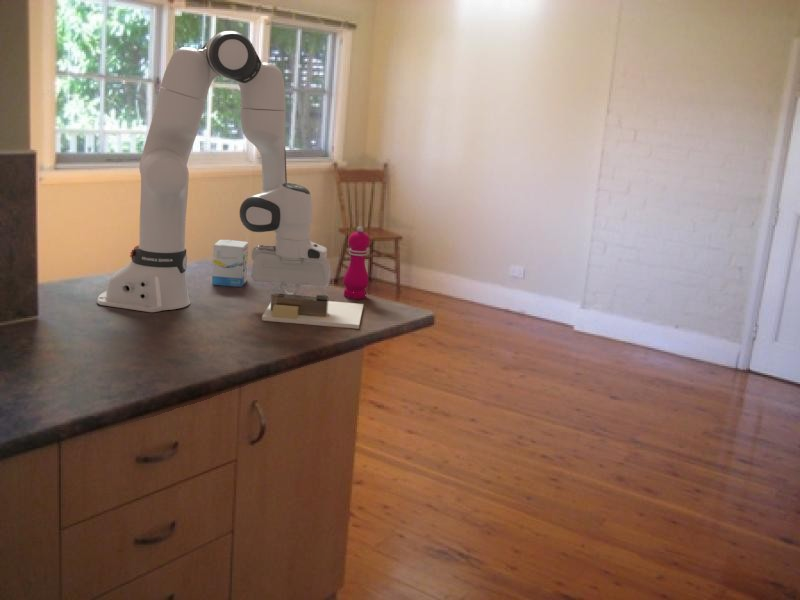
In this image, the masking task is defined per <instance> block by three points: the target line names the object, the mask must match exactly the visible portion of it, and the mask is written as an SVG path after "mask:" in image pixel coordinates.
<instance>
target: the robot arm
mask: <svg viewBox="0 0 800 600" xmlns="http://www.w3.org/2000/svg"><path fill="white" fill-rule="evenodd" d="M218 77H223V78H225V79H231V80H234V81H235V82H236V83H237V84H238V86H239V90H240V125H241V129H242V134H243V135H244V138H246V139H247V141H249V142H250V143H251V144H252V145H253V146H255V148H256V149H257V150H258V153H259V154H260V159H261V173H262V175H261V177H262V179H261V180H262V188H261V191H260V193H257V194H254V195H251V196H249V197H247V198H246V199H244V200H243V201H242V203H241V205H240V207H239V219H240V222H241V223H242V225H243V227H245V228H246V229H247V230H248V231H250V232H252V233H265V232H266V233H267V232H275V243H274V245H273V246H272V245H263V244H259V245H257V246H254V247H253V248H252V249H251V260H252V261H253V262H252V267H251V275H250V277H251V279H252V280H253V281H255V282H263V283H274V284H279V287H280V290H281V292H282V294H289V295H297V293H298V292H299V291H300V289H301V288H302V286H308V287H318V288H319V287H320V288H327V287H328V286H329V285H330V284H331V263H330V260H329V259H328V257H327V253H328V249H327V247H326V246H324V245H321V244H318V243H316V242H313V241H311V231H310V228H311V225H312V218H313V216H312V215H313V201H312V195H311V192H310V190H309V189H308V188H306V187H305V186H303V185H300V184H297V183H291V182H290V183H289V182H288V178H287V175H288V174H287V156H286V155H287V153H286V152H287V151H286V110H287V107H286V106H287V105H286V104H287V103H286V88H285V81H284V75H283V71H282V70H281V69H280V68H279V67H278V66H277V65H275V64H273V63H270V62H265V61H261V59H260V57H259V55H258V53H257V51H256V50H255V47H254V44H253V43H252V42H251V40H249V38H248V37H247V36H246V35H244V34H243V33H241V32H240V31H235V30H230V29H228V30H222V31H219V32H217V33H215V35H214V34H213V36H212V38H210V39H209V40H208V42H207V43H206V44H205V45H204V46H202V47H201V49H199V48H195V47H191V46H183V47H179V48H177V49H175V50H174V51H173V53H172V55H171V56H170V59H169V61H168V63H167V65H166V67H165V70H164V73H163V77H162V79H161V83H160V87H159V91H158V95H157V100H156V103H155V107H154V112H153V115H152V119H151V122H150V125H149V129H148V133H147V136H146V138H145V139H146V140H145V143H144V145H143V146H144V147H143V150H142V153H141V157H140V161H139V167H138V168H139V169H138V170H139V173H140V204H139V205H140V206H139V209H140V210H139V237H138V238H139V244H137V245H136V246H134V247H133V249H132V250H131V252H129V254H130V255H129V257H130V258H131V259H130V260H131V261H130V262H128V263H127V264H126V265H125V266H123V267H122V268H120V269H119V270H117V271H116V272H114V273H113V274H112V275H111V276H110V278H109V280H108V283H107V287H106V290H105V291H104V292H102V293H100V294H99V295H98V296H97V304H98V305H100V306H105V307H106V306H107V307H113V308H119V309H125V310H133V311H139V312H140V311H141V312H147V313H157V312H161V311H168V310H171V311H172V310H176V309H177V310H178V309H182V308H185V307H188V306H189V305H190V304H191V301H190V298H189V293H188V288H187V280H186V270H187V266H188V265H187V264H188V256H187V249H186V248H185V247H186V221H187V220H186V217H187V209H188V194H189V181H190V179H189V178H190V175H189V168H188V166H187V165H188V162H189V158H190V155H191V152H192V148H193V145H194V143H195V140H196V137H197V136H198V133H199V128H200V125H201V121H202V118H203V113H204V110H205V105H206V102H207V97H208V93H209V90H210V88H211V84H212V82H213V81H214V80H215V79H216V78H218ZM287 285H294V286H293V287H294V289H295V290H294V291H293V292H289V291H288V290H287V289H286V287H287Z"/></svg>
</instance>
